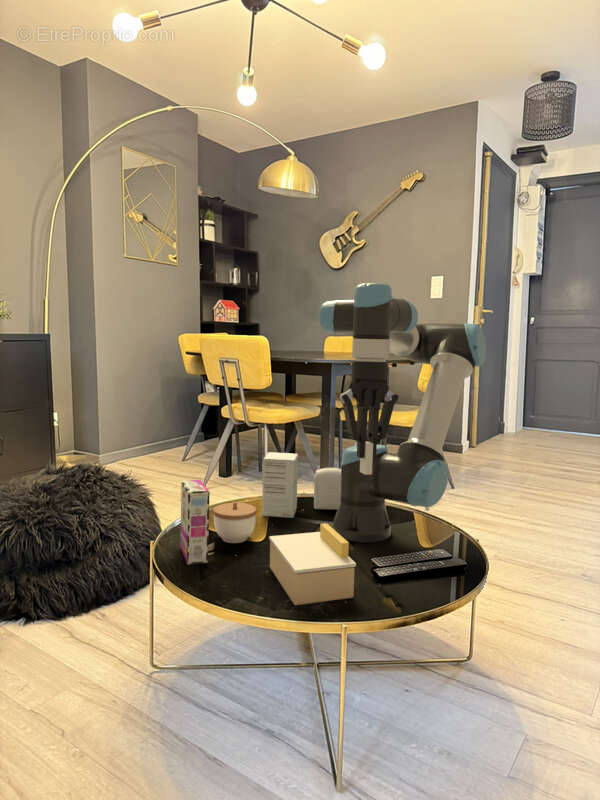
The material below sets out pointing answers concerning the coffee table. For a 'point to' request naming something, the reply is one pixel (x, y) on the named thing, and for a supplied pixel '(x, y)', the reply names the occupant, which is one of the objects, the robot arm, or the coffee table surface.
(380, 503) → the robot arm
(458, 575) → the coffee table surface
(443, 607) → the coffee table surface
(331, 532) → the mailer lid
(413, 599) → the coffee table surface
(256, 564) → the coffee table surface
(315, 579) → the mailer box
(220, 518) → the lidded jar
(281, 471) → the supplement box
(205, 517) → the candy bar box
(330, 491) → the photo printer
